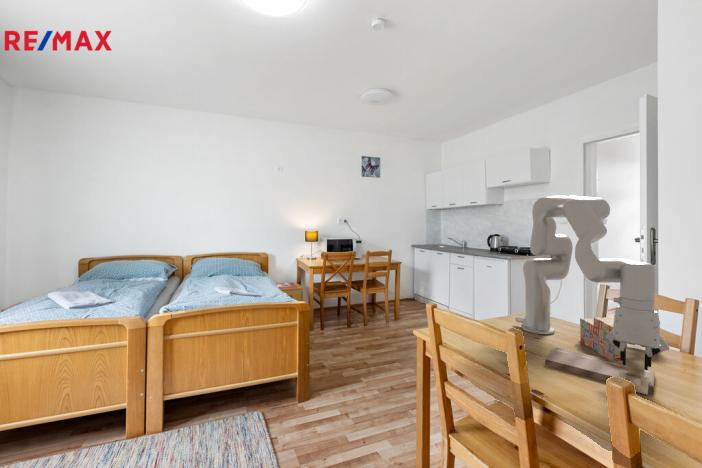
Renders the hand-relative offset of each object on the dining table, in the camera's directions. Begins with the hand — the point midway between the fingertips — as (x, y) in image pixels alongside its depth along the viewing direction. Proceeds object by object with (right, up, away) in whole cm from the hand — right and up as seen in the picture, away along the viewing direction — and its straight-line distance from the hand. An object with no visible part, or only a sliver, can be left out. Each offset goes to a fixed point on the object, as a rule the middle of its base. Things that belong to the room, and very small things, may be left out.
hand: (635, 365), depth 94 cm
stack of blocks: (+9, -5, +23) cm, 25 cm away
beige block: (0, -5, 0) cm, 5 cm away
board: (-5, -5, +8) cm, 11 cm away
